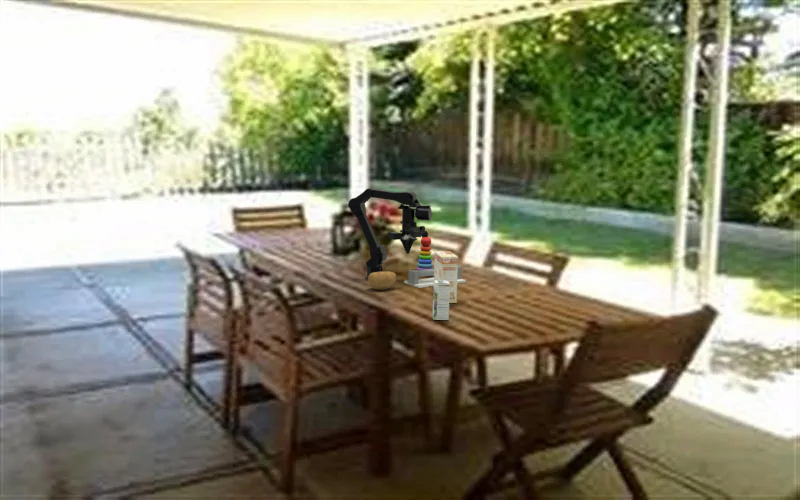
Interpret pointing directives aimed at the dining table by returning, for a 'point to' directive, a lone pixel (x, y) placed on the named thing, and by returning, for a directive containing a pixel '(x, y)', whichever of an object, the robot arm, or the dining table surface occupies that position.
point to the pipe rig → (427, 282)
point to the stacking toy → (425, 255)
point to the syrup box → (441, 300)
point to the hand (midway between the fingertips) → (407, 253)
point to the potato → (382, 280)
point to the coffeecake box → (447, 271)
